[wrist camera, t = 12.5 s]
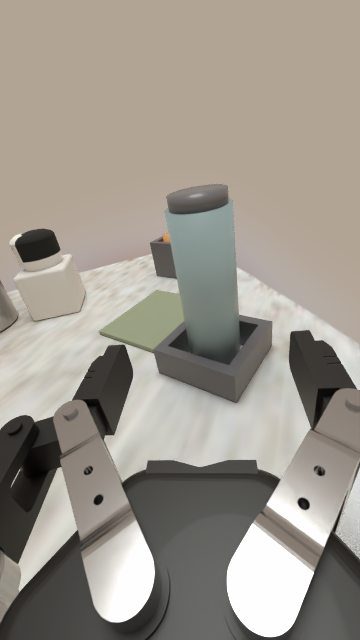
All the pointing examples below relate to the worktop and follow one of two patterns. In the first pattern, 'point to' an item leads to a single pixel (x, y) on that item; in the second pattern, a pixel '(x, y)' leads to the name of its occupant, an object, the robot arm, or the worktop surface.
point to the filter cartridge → (206, 269)
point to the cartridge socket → (212, 373)
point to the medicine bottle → (46, 275)
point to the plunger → (166, 237)
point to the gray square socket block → (163, 258)
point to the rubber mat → (147, 321)
